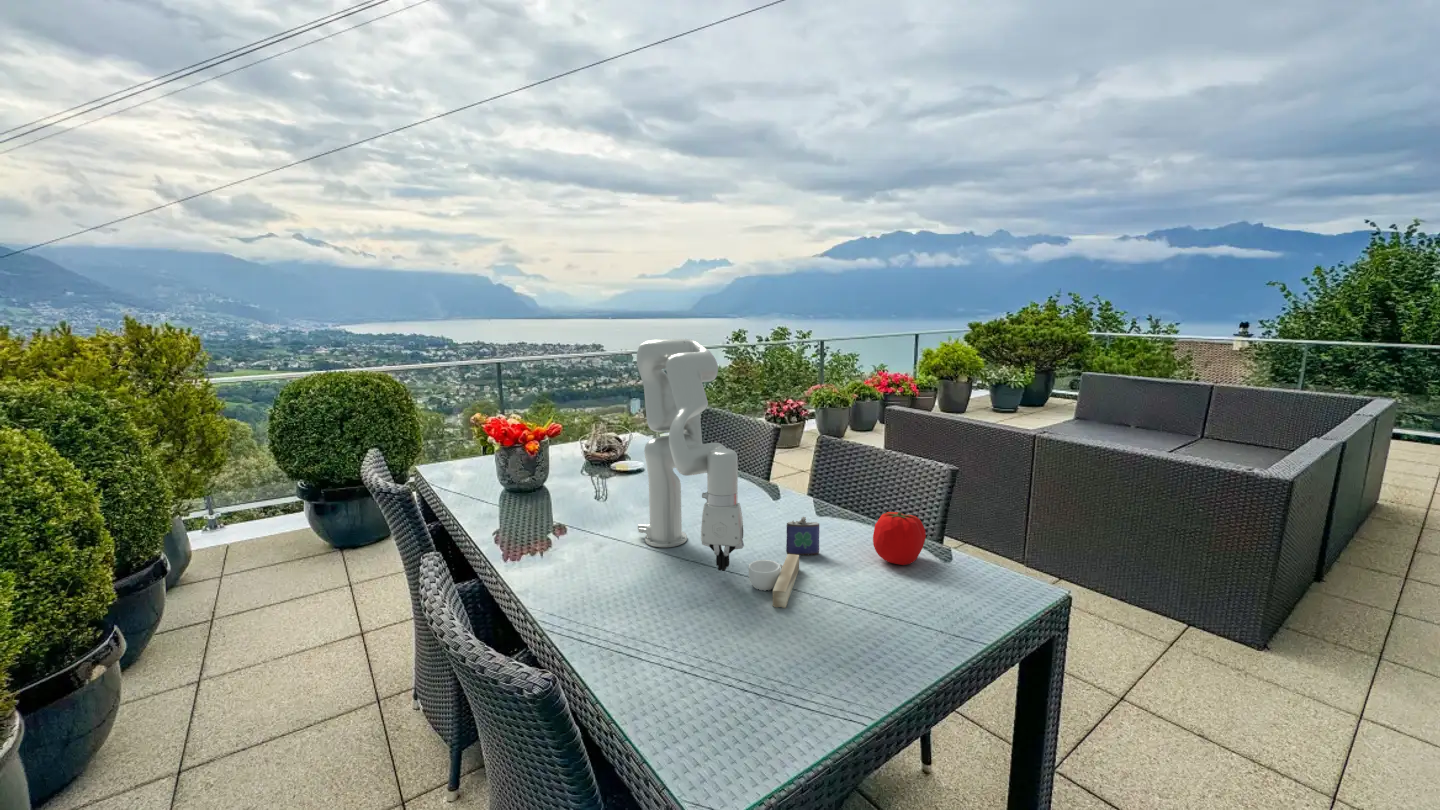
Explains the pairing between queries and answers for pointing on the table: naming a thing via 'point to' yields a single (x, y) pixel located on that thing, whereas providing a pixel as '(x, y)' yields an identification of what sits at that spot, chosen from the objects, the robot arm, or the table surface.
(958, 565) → the table surface
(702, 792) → the table surface
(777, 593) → the wooden bar
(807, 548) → the clover hip flask
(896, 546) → the tomato
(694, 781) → the table surface
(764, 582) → the teacup
